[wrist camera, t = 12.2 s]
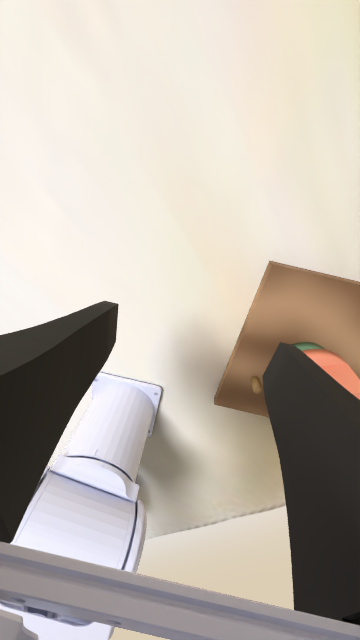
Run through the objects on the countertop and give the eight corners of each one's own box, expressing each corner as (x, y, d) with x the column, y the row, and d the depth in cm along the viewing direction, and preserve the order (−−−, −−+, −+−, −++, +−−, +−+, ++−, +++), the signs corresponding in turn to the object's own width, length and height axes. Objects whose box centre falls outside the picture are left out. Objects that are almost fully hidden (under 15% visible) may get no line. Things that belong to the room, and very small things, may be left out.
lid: (351, 344, 18) (389, 385, 14) (345, 399, 20) (375, 446, 17) (269, 354, 19) (284, 394, 15) (273, 404, 22) (287, 449, 18)
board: (317, 421, 26) (326, 442, 24) (214, 397, 26) (214, 416, 24) (417, 295, 18) (445, 309, 16) (269, 260, 18) (277, 270, 16)
